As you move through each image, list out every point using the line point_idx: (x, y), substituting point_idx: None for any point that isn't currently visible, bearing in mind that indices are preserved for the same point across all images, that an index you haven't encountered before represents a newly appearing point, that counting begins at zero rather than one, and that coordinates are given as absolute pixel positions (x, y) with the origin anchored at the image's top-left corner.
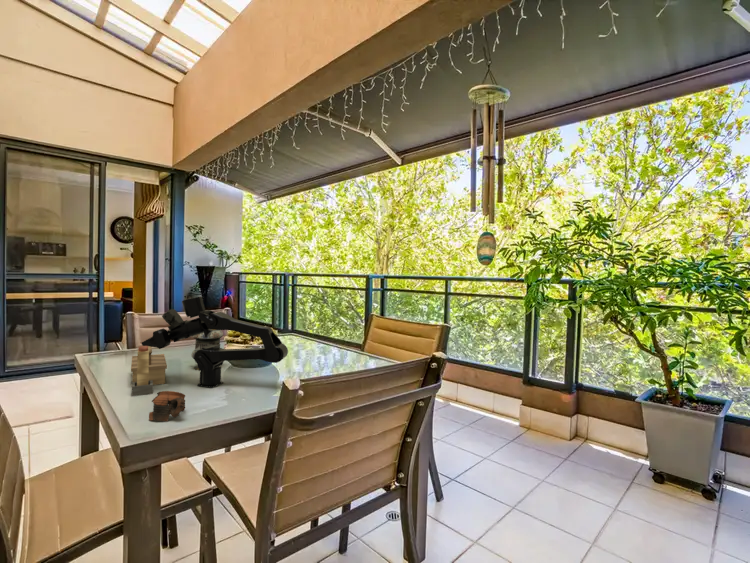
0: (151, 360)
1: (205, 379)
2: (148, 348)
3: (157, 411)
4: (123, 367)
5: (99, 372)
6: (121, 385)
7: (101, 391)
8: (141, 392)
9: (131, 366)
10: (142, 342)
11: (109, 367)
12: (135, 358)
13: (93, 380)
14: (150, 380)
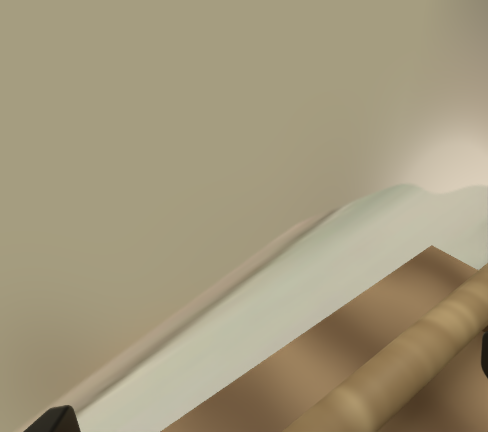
0: (421, 429)
1: None
2: (349, 390)
3: None
4: (453, 236)
5: (351, 219)
6: None
7: (82, 402)
8: None
9: (186, 416)
10: (32, 426)
11: (419, 205)
12: (399, 290)
13: (251, 264)
14: None
